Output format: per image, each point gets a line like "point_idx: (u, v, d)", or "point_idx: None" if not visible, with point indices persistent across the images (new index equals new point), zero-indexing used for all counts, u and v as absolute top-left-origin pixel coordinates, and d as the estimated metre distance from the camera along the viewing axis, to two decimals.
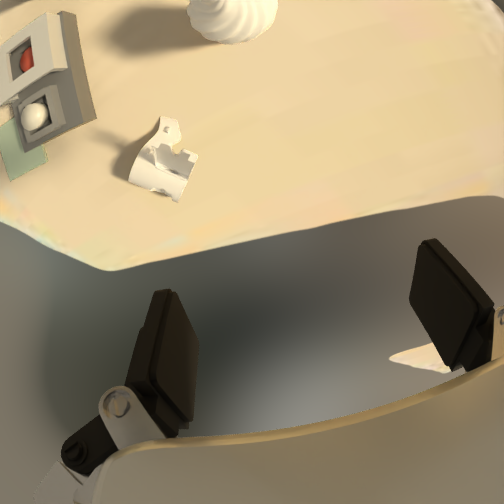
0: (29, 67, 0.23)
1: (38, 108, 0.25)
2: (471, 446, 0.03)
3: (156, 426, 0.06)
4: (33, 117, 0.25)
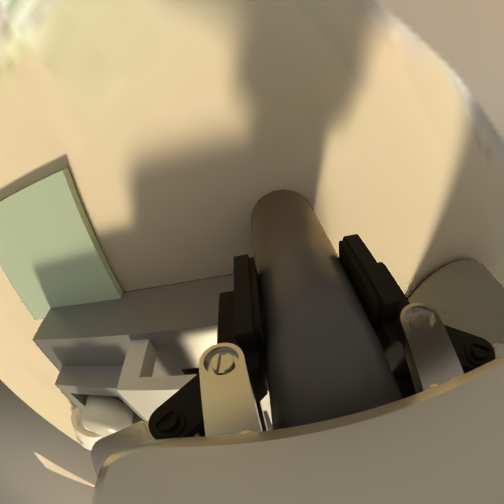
0: None
1: None
2: (471, 446, 0.03)
3: (252, 397, 0.06)
4: (106, 433, 0.15)
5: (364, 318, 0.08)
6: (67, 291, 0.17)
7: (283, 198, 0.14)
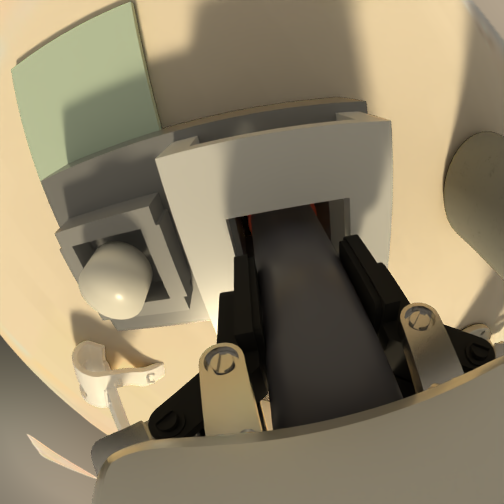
0: None
1: None
2: (471, 446, 0.03)
3: (252, 397, 0.06)
4: (110, 302, 0.13)
5: (364, 317, 0.07)
6: (96, 132, 0.15)
7: None
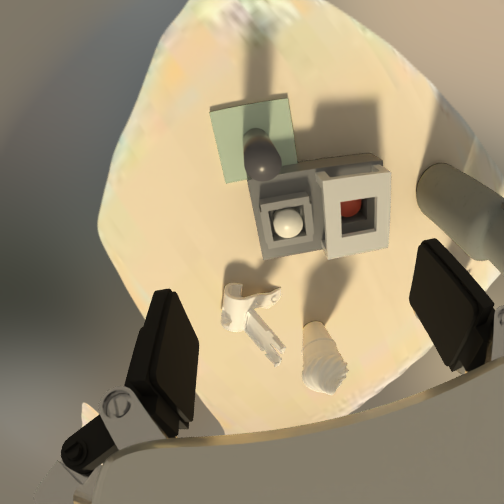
0: (340, 204, 0.38)
1: (293, 235, 0.37)
2: (471, 446, 0.03)
3: (156, 426, 0.06)
4: (287, 229, 0.36)
5: (271, 143, 0.27)
6: None
7: (254, 129, 0.34)
